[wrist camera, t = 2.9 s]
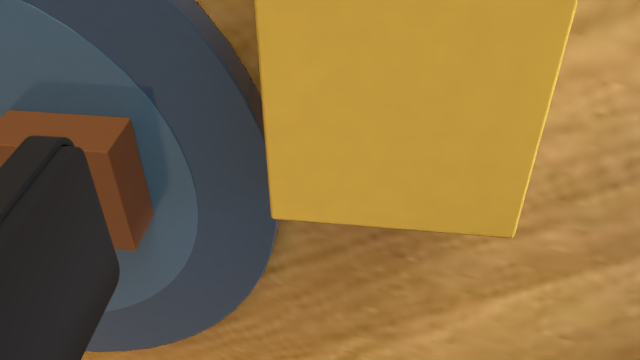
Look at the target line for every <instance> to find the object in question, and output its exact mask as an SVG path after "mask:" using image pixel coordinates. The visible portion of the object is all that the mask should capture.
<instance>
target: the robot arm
mask: <svg viewBox="0 0 640 360" xmlns="http://www.w3.org/2000/svg"><path fill="white" fill-rule="evenodd" d="M119 275H120V267H119V262H118V259H117V256H116V253H115V249H114V246H113V243H112V240H111V236H110V233H109V230H108V227H107V224H106V220H105V217H104V214H103V211H102V207H101V204H100V201H99V198H98V195H97V191H96V188H95V185H94V182H93V179H92V175H91V172H90V169H89V166H88V162H87V159H86V156H85V154H84V151H83V150H82V149H81V148H79V147H75V146H74V144H73V142H72V141H71V140H70V139H69V138H66V137H53V136H35V135H33V136H28V137H27V138H26V139H25V140H24V141H23V142H22V143H21V144H20V145H19V146H18V148H17V149H16V150H15V151H14V152H13V153H12V154H11V156H10V157H9V158H8V159H7V160H6V161H5V163H4V164H3V165H2V166H1V167H0V360H81V358H82V356H83V354H84V352H85V350H86V348H87V346H88V344H89V342H90V340H91V338H92V336H93V334H94V332H95V330H96V328H97V326H98V324H99V322H100V320H101V318H102V316H103V314H104V312H105V310H106V308H107V305H108V303H109V301H110V299H111V297H112V295H113V293H114V291H115V289H116V287H117V284H118V281H119Z"/></svg>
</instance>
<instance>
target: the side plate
mask: <svg viewBox="0 0 640 360" xmlns="http://www.w3.org/2000/svg"><path fill="white" fill-rule="evenodd" d="M8 110H17V111H33V112H48V113H64V114H79V115H95V116H110V117H126V118H130V119H131V122H132V126H133V130H134V134H135V139H136V143H137V147H138V151H139V155H140V159H141V163H142V167H143V171H144V175H145V179H146V183H147V188H148V192H149V196H150V200H151V204H152V208H153V212H154V216H153V218H152V220H151V222H150V223H149V225H148V227H147V229H146V231H145V233H144V235H143V237H142V239H141V241H140V243H139V245H138V247H137V249H136V251H125V250H115V253H116V256H117V259H118V262H119V267H120V275H119V281H118V284H117V287H116V289H115V291H114V293H113V295H112V297H111V299H110V301H109V303H108V305H107V308H106V310H105V312H104V314H103V316H102V318H101V320H100V322H99V324H98V326H97V328H96V330H95V332H94V334H93V336H92V338H91V340H90V342H89V344H88V346H87V348H86V350H85V351H92V352H116V351H131V350H140V349H149V348H153V347H158V346H162V345H167V344H171V343H174V342H177V341H180V340H183V339H186V338H188V337H191V336H194V335H196V334H198V333H200V332H202V331H204V330H206V329H208V328H210V327H212V326H214V325H216V324H217V323H218V322H220V321H221V320H222V319H224V318H225V317H226V316H228V315H229V314H230V313H232V312H233V311H234V310H235V309H236V308H237V307H238V306H239V305H240V304H241V303H242V302H243V301H244V300H245V299H246V298H247V297H248V296H249V295H250V294H251V292H252V290H253V289H254V287H255V286H256V284H257V283H258V281H259V280H260V278H261V277H262V275H263V273H264V271H265V268H266V266H267V264H268V261H269V259H270V256H271V254H272V251H273V247H274V243H275V239H276V235H277V231H278V226H279V221H280V220H278V219H272V217H271V210H270V198H269V185H268V173H267V161H266V148H265V136H264V123H263V111H262V101H261V98H260V96H259V94H258V92H257V90H256V88H255V85H254V83H253V81H252V79H251V77H250V76H249V74H248V72H247V71H246V69H245V68H244V66H243V64H242V63H241V61H240V60H239V58H238V56H237V55H236V53H235V51H234V50H233V48H232V47H231V45H230V43H229V42H228V41H227V39H226V38H225V37H224V36H223V34H222V33H221V32H220V31H219V29H218V28H217V27H216V26H215V24H214V23H213V22H212V20H211V19H210V18H209V17H208V15H207V14H206V13H205V12H204V10H203V9H202V8H201V7H200V5H199V4H198V3H197V2H196V1H195V0H0V118H1V117H2V116H3V115H4V114H5V112H6V111H8Z"/></svg>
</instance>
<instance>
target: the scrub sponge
mask: <svg viewBox="0 0 640 360" xmlns="http://www.w3.org/2000/svg"><path fill="white" fill-rule="evenodd" d="M577 4H578V0H254V11H255V23H256V36H257V48H258V61H259V73H260V86H261V98H262V111H263V123H264V136H265V148H266V161H267V173H268V185H269V198H270V210H271V217H272V219H278V220H291V221H303V222H316V223H328V224H341V225H353V226H365V227H378V228H390V229H403V230H415V231H428V232H440V233H453V234H465V235H478V236H490V237H503V238H513V237H514V235H515V231H516V228H517V224H518V220H519V217H520V213H521V209H522V206H523V202H524V198H525V195H526V191H527V187H528V184H529V180H530V176H531V173H532V169H533V165H534V162H535V158H536V154H537V151H538V147H539V143H540V140H541V136H542V132H543V129H544V125H545V121H546V118H547V114H548V110H549V106H550V103H551V99H552V95H553V92H554V88H555V84H556V81H557V77H558V73H559V70H560V66H561V62H562V59H563V55H564V51H565V48H566V44H567V40H568V37H569V33H570V29H571V26H572V22H573V18H574V15H575V11H576V7H577Z"/></svg>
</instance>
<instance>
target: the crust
mask: <svg viewBox="0 0 640 360" xmlns="http://www.w3.org/2000/svg"><path fill="white" fill-rule="evenodd" d="M33 135H35V136H53V137H66V138H69V139H70V140H71V141H72V142H73V144H74V146H75V147H79V148H81V149H82V150H83V151H84V154H85V156H86V159H87V162H88V166H89V169H90V172H91V175H92V179H93V182H94V185H95V188H96V191H97V195H98V198H99V201H100V204H101V207H102V211H103V214H104V217H105V220H106V224H107V227H108V230H109V233H110V236H111V240H112V243H113V246H114V249H115V250H125V251H136V249H137V247H138V245H139V243H140V241H141V239H142V237H143V235H144V233H145V231H146V229H147V227H148V225H149V223H150V222H151V220H152V218H153V216H154V212H153V208H152V204H151V200H150V196H149V192H148V188H147V183H146V179H145V175H144V171H143V167H142V163H141V159H140V155H139V151H138V147H137V143H136V139H135V134H134V130H133V126H132V122H131V119H130V118H126V117H110V116H95V115H79V114H64V113H48V112H33V111H17V110H8V111H6V112H5V114H4V115H3V116H2V117H1V118H0V167H1V166H2V165H3V164H4V163H5V161H6V160H7V159H8V158H9V157H10V156H11V154H12V153H13V152H14V151H15V150H16V149H17V148H18V146H19V145H20V144H21V143H22V142H23V141H24V140H25V139H26V138H27V137H28V136H33Z"/></svg>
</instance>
